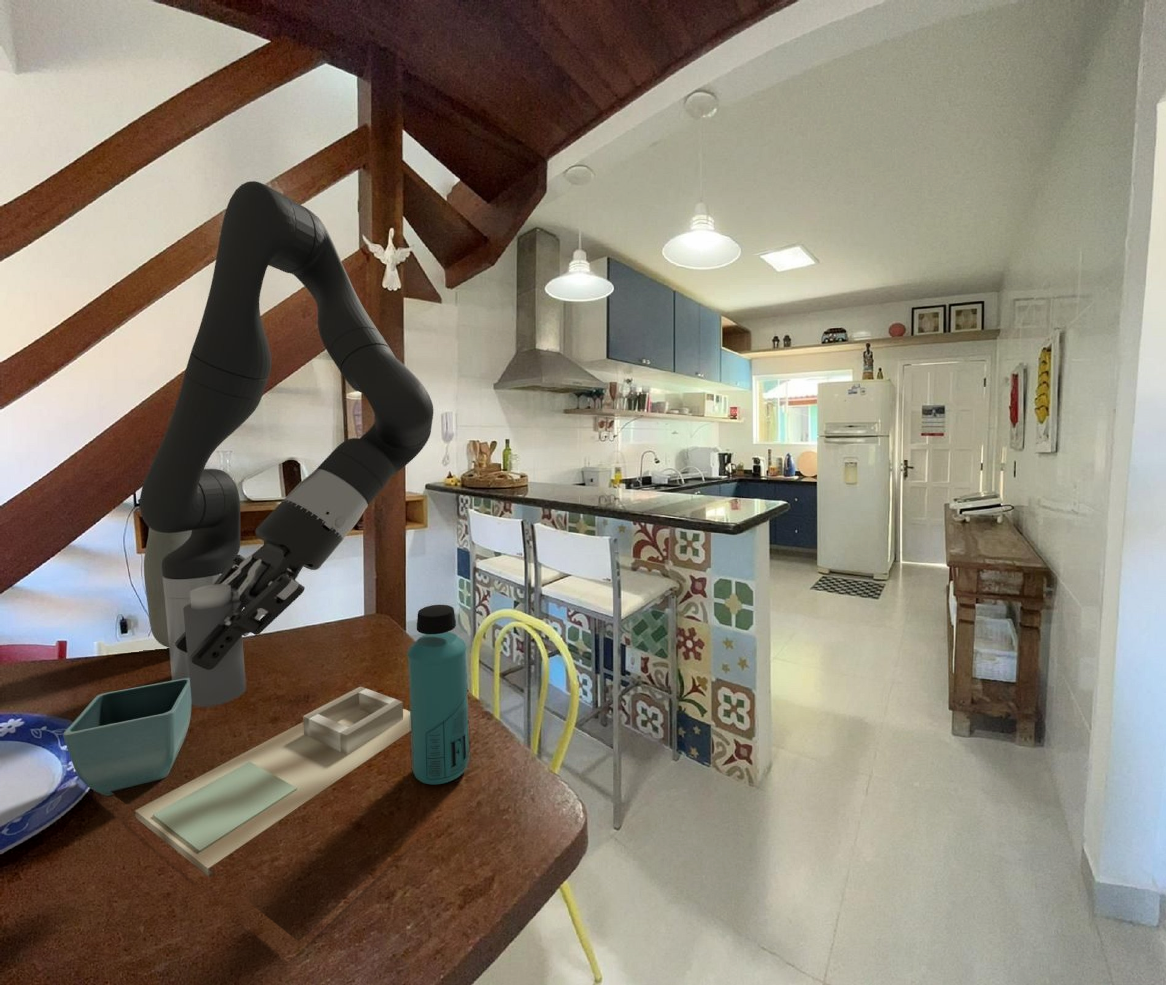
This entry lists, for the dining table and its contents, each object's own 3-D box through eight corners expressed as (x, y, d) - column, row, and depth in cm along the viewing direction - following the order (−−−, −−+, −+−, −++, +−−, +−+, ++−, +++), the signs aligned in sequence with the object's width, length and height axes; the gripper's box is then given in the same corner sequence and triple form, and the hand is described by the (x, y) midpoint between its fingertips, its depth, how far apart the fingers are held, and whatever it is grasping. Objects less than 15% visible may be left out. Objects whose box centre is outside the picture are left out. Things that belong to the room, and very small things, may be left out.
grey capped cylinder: (182, 699, 48) (172, 591, 47) (231, 680, 52) (223, 580, 50) (206, 711, 46) (196, 599, 45) (255, 690, 50) (247, 586, 48)
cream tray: (135, 817, 49) (132, 787, 49) (359, 697, 72) (358, 676, 71) (208, 876, 42) (205, 842, 42) (428, 723, 65) (428, 700, 65)
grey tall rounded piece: (146, 646, 88) (132, 494, 85) (215, 630, 96) (204, 490, 93) (157, 663, 82) (141, 499, 79) (229, 644, 90) (218, 494, 86)
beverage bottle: (455, 803, 51) (451, 622, 49) (398, 793, 53) (392, 616, 50) (480, 763, 58) (477, 601, 55) (429, 755, 59) (424, 596, 57)
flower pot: (69, 817, 49) (59, 734, 48) (105, 765, 57) (97, 693, 56) (179, 789, 53) (172, 712, 52) (199, 744, 61) (193, 676, 60)
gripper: (262, 492, 57) (135, 622, 49) (318, 503, 48) (174, 663, 40) (312, 530, 61) (204, 654, 53) (371, 546, 53) (252, 697, 45)
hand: (192, 657), depth 47 cm, fingers closed on grey capped cylinder, 4 cm apart
